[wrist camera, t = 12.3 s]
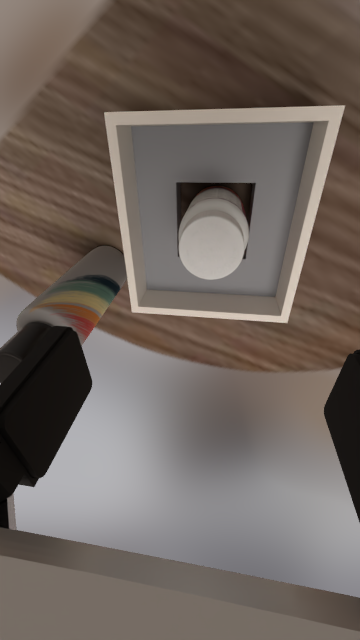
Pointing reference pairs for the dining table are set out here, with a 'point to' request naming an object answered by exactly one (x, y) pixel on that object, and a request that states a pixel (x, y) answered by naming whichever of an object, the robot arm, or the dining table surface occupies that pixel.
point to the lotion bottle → (67, 304)
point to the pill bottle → (213, 233)
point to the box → (220, 167)
